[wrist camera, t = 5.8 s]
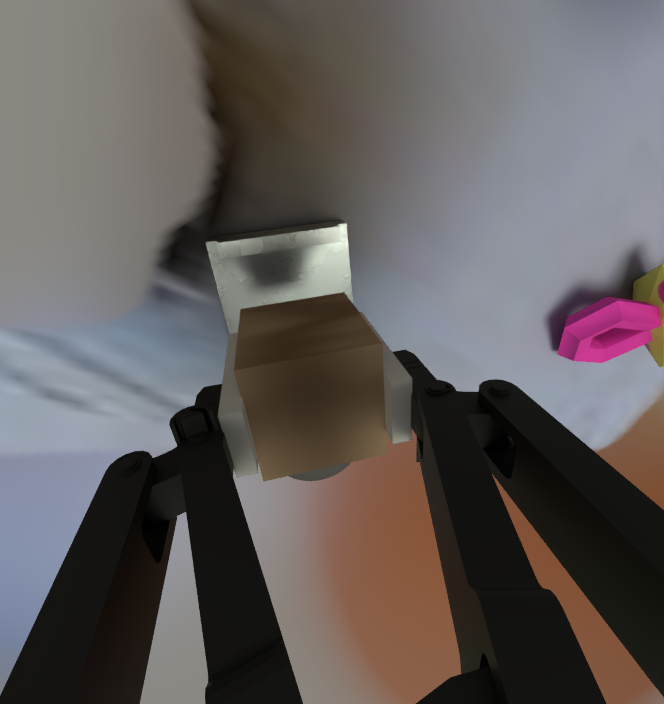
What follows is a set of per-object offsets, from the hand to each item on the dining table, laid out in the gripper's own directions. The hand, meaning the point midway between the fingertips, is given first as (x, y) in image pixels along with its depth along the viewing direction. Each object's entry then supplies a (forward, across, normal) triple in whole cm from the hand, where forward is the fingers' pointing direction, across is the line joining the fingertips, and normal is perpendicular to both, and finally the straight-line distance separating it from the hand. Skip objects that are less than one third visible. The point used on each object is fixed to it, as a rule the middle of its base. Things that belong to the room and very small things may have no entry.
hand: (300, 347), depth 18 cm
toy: (+13, +34, -8) cm, 37 cm away
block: (0, 0, 0) cm, 0 cm away
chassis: (+13, 0, -4) cm, 13 cm away
